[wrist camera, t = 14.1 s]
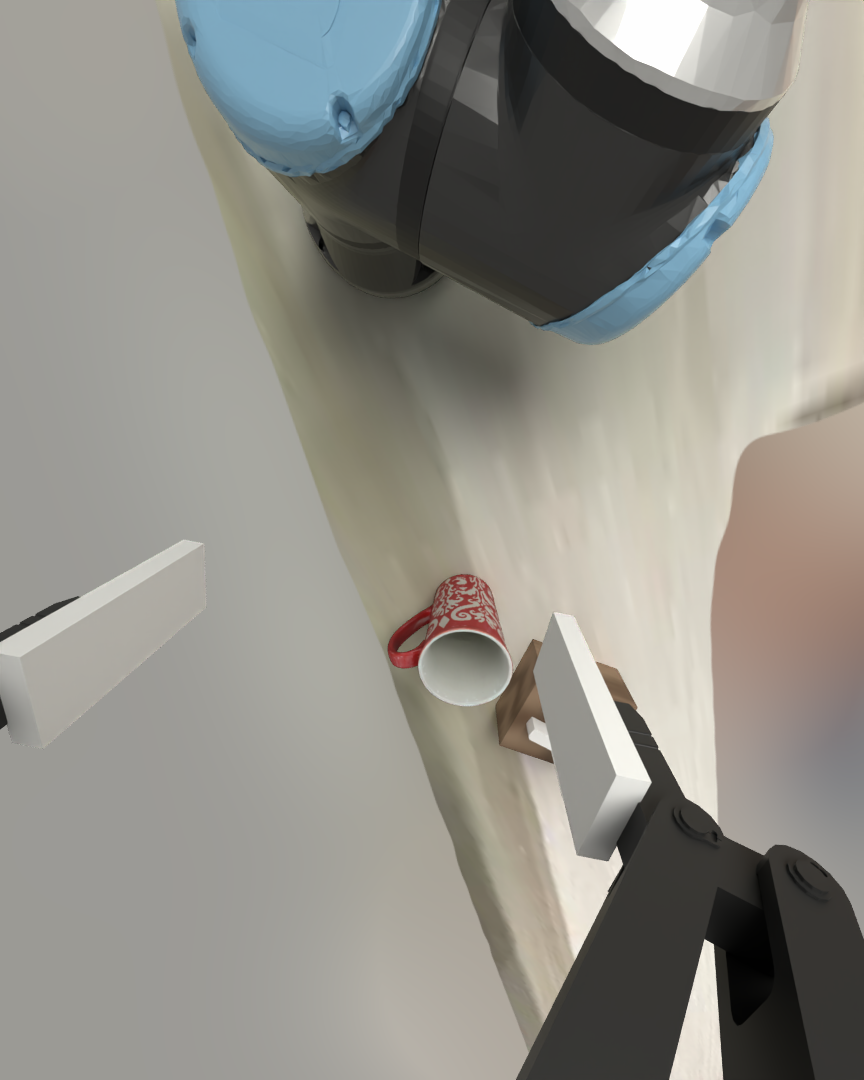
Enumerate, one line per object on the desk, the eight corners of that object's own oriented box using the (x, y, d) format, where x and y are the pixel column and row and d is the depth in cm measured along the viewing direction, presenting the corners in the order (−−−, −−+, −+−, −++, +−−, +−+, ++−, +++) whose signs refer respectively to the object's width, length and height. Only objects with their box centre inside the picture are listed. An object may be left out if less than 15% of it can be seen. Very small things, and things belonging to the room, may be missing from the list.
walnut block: (532, 637, 52) (541, 673, 46) (616, 667, 53) (637, 707, 47) (495, 703, 57) (499, 745, 50) (573, 730, 57) (587, 775, 51)
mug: (499, 564, 49) (511, 627, 36) (502, 628, 52) (514, 706, 39) (396, 569, 50) (373, 632, 37) (405, 631, 53) (387, 708, 41)
